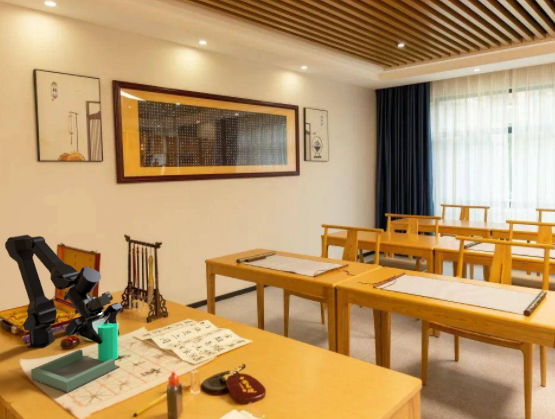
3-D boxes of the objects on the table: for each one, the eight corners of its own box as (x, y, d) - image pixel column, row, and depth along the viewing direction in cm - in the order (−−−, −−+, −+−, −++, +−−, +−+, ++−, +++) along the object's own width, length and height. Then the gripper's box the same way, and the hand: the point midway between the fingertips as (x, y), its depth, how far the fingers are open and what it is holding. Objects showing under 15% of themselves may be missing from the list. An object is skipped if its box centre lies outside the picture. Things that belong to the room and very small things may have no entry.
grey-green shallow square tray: (84, 356, 140) (83, 347, 139) (119, 367, 131) (118, 357, 131) (31, 379, 125) (31, 369, 125) (67, 393, 116) (66, 382, 116)
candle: (111, 362, 134) (110, 323, 134) (94, 360, 135) (93, 322, 135) (121, 355, 140) (121, 318, 140) (105, 353, 141) (104, 317, 141)
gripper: (68, 294, 129) (97, 334, 125) (116, 278, 146) (143, 314, 142) (53, 316, 133) (80, 356, 129) (101, 299, 150) (127, 334, 146)
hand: (110, 339), depth 136 cm, fingers open, 7 cm apart
